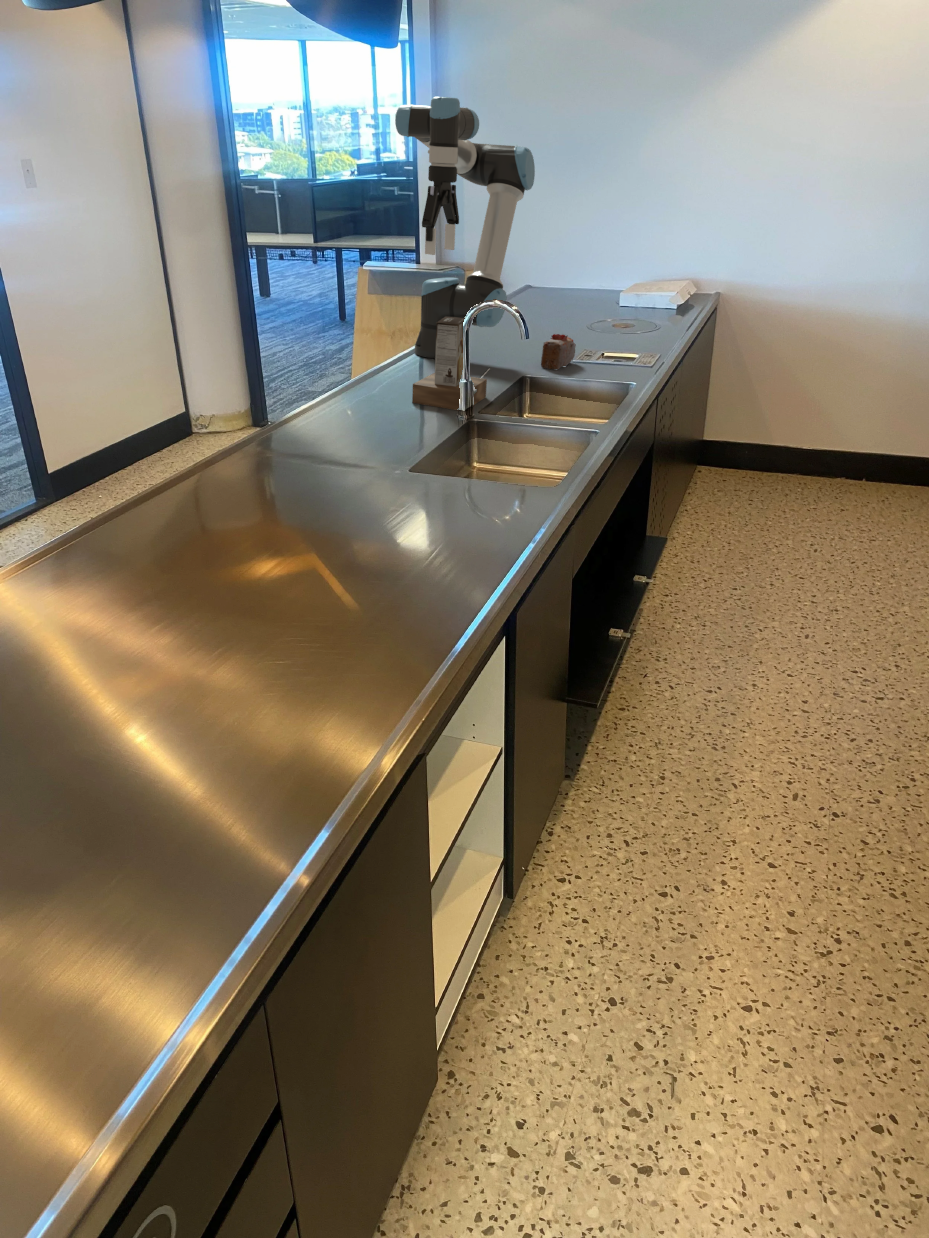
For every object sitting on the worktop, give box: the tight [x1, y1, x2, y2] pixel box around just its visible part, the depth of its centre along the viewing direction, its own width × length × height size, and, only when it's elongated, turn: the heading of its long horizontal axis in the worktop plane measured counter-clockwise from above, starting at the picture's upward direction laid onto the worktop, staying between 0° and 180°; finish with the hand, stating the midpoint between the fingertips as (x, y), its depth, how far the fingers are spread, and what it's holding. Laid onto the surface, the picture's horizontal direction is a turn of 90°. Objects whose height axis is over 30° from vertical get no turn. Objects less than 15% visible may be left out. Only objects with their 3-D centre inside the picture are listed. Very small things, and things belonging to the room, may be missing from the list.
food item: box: [540, 333, 577, 370], centre depth 280 cm, size 14×8×10 cm, turn 156°
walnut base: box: [411, 372, 488, 411], centre depth 239 cm, size 16×15×5 cm
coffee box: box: [434, 317, 465, 387], centre depth 234 cm, size 9×6×16 cm
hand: (439, 252), depth 243 cm, fingers open, 13 cm apart
